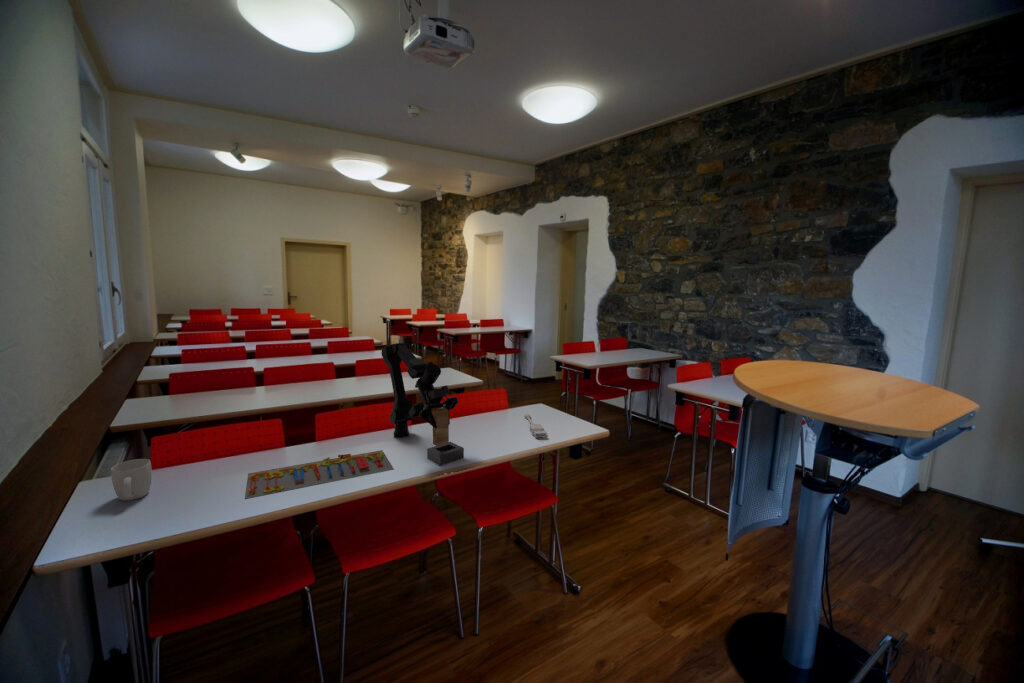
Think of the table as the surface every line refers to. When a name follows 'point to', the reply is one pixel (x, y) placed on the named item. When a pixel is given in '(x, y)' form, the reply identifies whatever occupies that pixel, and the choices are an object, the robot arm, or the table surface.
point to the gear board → (315, 473)
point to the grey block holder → (445, 453)
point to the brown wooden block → (441, 427)
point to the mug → (132, 479)
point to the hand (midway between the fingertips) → (442, 426)
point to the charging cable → (535, 428)
